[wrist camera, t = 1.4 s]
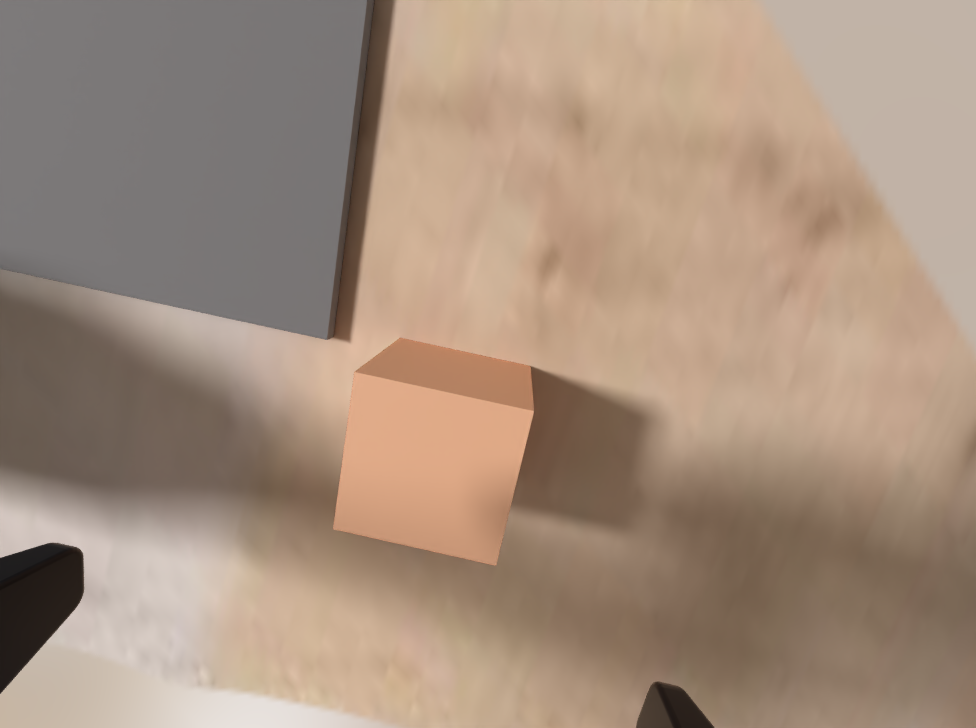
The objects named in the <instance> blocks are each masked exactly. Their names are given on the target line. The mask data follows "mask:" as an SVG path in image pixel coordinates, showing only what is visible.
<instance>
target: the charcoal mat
mask: <svg viewBox="0 0 976 728" xmlns="http://www.w3.org/2000/svg"><path fill="white" fill-rule="evenodd" d="M373 7H374V0H0V269H4V270H9V271H13V272H18V273H22V274H27V275H31V276H36V277H41V278H45V279H50V280H54V281H59V282H64V283H68V284H73V285H77V286H82V287H87V288H91V289H96V290H100V291H105V292H110V293H114V294H119V295H123V296H128V297H132V298H137V299H142V300H146V301H151V302H155V303H160V304H165V305H169V306H174V307H178V308H183V309H188V310H192V311H197V312H201V313H206V314H211V315H215V316H220V317H224V318H229V319H233V320H238V321H243V322H247V323H252V324H256V325H261V326H266V327H270V328H275V329H279V330H284V331H289V332H293V333H298V334H302V335H307V336H312V337H316V338H321V339H325V340H328V339H330V338H332V337H333V336H334V328H335V320H336V312H337V303H338V295H339V287H340V279H341V270H342V262H343V254H344V246H345V238H346V229H347V221H348V213H349V205H350V196H351V188H352V180H353V172H354V163H355V155H356V147H357V139H358V131H359V122H360V114H361V106H362V98H363V89H364V81H365V73H366V65H367V57H368V48H369V40H370V32H371V24H372V15H373Z"/></svg>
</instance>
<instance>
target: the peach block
mask: <svg viewBox="0 0 976 728" xmlns="http://www.w3.org/2000/svg"><path fill="white" fill-rule="evenodd" d="M533 414H534V404H533V391H532V378H531V366H528V365H523V364H518V363H514V362H509V361H505V360H500V359H495V358H491V357H486V356H482V355H477V354H472V353H468V352H463V351H459V350H454V349H449V348H445V347H440V346H436V345H431V344H426V343H422V342H417V341H413V340H408V339H403V338H399V339H398V340H397V341H395V342H394V343H393V344H391V345H390V346H389V347H387V348H386V349H385V350H383V351H382V352H380V353H379V354H378V355H376V356H375V357H374V358H372V359H371V360H370V361H368V362H367V363H366V364H364V365H363V366H362V367H360V368H359V369H358V370H356V371H355V372H354V378H353V386H352V393H351V400H350V408H349V415H348V422H347V430H346V437H345V444H344V452H343V459H342V466H341V474H340V481H339V488H338V496H337V503H336V511H335V518H334V525H333V529H335V530H339V531H344V532H348V533H352V534H357V535H361V536H366V537H370V538H375V539H379V540H384V541H388V542H392V543H397V544H401V545H406V546H410V547H415V548H419V549H424V550H428V551H432V552H437V553H441V554H446V555H450V556H455V557H459V558H464V559H468V560H472V561H477V562H481V563H486V564H490V565H495V566H496V564H497V560H498V556H499V552H500V548H501V544H502V540H503V536H504V531H505V527H506V523H507V519H508V515H509V511H510V507H511V503H512V499H513V495H514V491H515V487H516V483H517V479H518V475H519V471H520V466H521V462H522V458H523V454H524V450H525V446H526V442H527V438H528V434H529V430H530V426H531V422H532V418H533Z"/></svg>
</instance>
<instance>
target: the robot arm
mask: <svg viewBox="0 0 976 728" xmlns="http://www.w3.org/2000/svg"><path fill="white" fill-rule="evenodd" d="M83 593H84V561H83V553H82V551H81V550H80V549H79V548H77V547H73V546H69V545H64V544H60V543H48V544H44V545H41V546H38V547H34V548H31V549H28V550H25V551H21V552H18V553H15V554H12V555H8V556H5V557H2V558H0V694H1V692H2V691H3V690H4V689H5V688H6V687H7V686H8V685H9V683H10V682H11V681H12V680H13V679H14V678H15V677H16V676H17V674H18V673H19V672H20V671H21V670H22V669H23V667H24V666H25V665H26V664H27V663H28V662H29V661H30V660H31V658H32V657H33V656H34V655H35V654H36V653H37V652H38V651H39V650H40V648H41V647H42V646H43V645H44V644H45V643H46V642H47V640H48V639H49V638H50V637H51V636H52V635H53V634H54V633H55V631H56V630H57V629H58V628H59V627H60V626H61V625H62V623H63V622H64V621H65V620H66V619H67V618H68V617H69V616H70V614H71V613H72V612H73V611H74V610H75V609H76V607H77V606H78V604H79V603H80V601H81V599H82V596H83ZM636 728H714V726H713V725H712V724H711V723H710V721H709V720H708V719H707V718H706V716H705V715H704V714H703V713H702V711H701V710H700V709H699V708H698V707H697V705H696V704H695V703H694V702H693V700H692V699H691V698H690V697H689V695H688V694H687V693H686V692H685V691H684V690H683V689H682V688H680V687H678V686H675V685H671V684H666V683H662V682H654V683H653V684H652V685H651V687H650V688H649V691H648V694H647V696H646V699H645V702H644V704H643V707H642V710H641V712H640V715H639V718H638V721H637V726H636Z"/></svg>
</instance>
